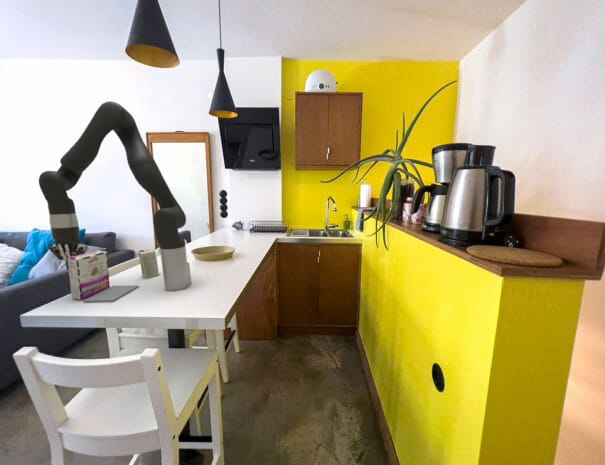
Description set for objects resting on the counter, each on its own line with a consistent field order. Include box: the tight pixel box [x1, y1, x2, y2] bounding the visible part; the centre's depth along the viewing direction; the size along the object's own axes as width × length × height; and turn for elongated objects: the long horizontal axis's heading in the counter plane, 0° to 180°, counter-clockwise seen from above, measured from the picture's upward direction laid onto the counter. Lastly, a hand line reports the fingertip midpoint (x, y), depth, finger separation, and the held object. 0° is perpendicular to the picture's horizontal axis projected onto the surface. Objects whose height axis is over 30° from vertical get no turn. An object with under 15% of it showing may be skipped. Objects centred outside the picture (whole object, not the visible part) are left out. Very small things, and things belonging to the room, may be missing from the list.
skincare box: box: [138, 249, 160, 279], centre depth 113 cm, size 6×4×12 cm
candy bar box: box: [67, 249, 111, 301], centre depth 93 cm, size 11×5×16 cm, turn 169°
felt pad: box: [82, 284, 140, 304], centre depth 94 cm, size 11×14×1 cm
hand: (72, 270), depth 92 cm, fingers closed
